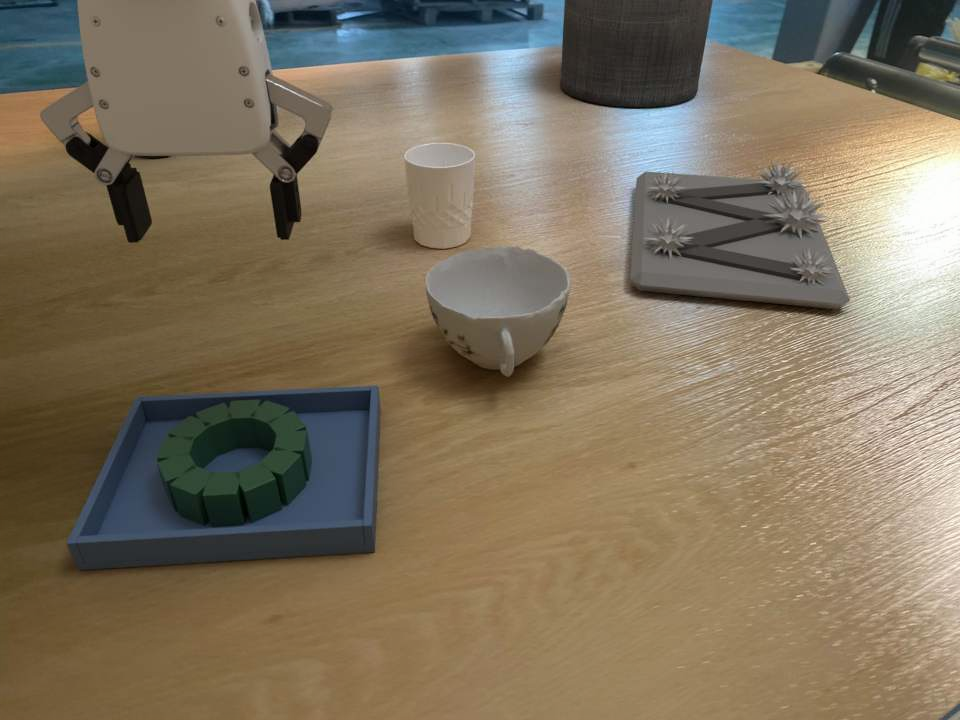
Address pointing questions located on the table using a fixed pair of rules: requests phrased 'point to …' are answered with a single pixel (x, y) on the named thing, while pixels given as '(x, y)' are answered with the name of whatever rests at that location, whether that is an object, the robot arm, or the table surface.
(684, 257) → the decorative plate
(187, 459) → the ring
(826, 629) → the table surface
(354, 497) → the tray
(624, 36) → the planter
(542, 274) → the teacup
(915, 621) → the table surface
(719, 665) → the table surface
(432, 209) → the white cup
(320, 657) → the table surface
